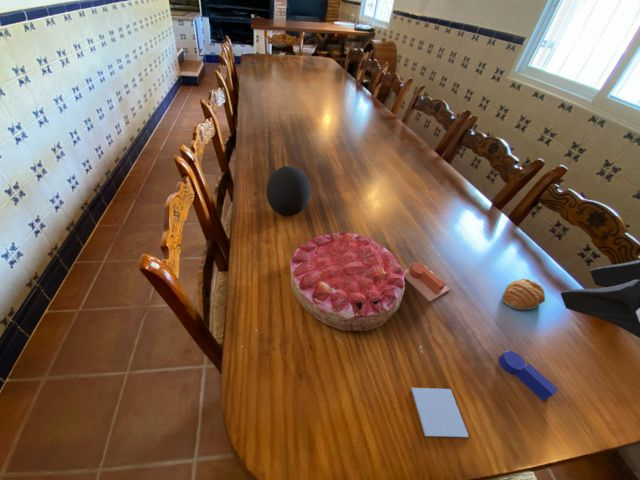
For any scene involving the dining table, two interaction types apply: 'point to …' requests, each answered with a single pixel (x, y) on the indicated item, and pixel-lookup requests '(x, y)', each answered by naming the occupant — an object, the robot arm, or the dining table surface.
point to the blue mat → (439, 413)
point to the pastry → (523, 294)
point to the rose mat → (423, 287)
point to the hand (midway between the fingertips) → (579, 287)
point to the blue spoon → (527, 375)
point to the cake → (347, 281)
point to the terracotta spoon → (426, 277)
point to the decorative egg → (288, 191)
